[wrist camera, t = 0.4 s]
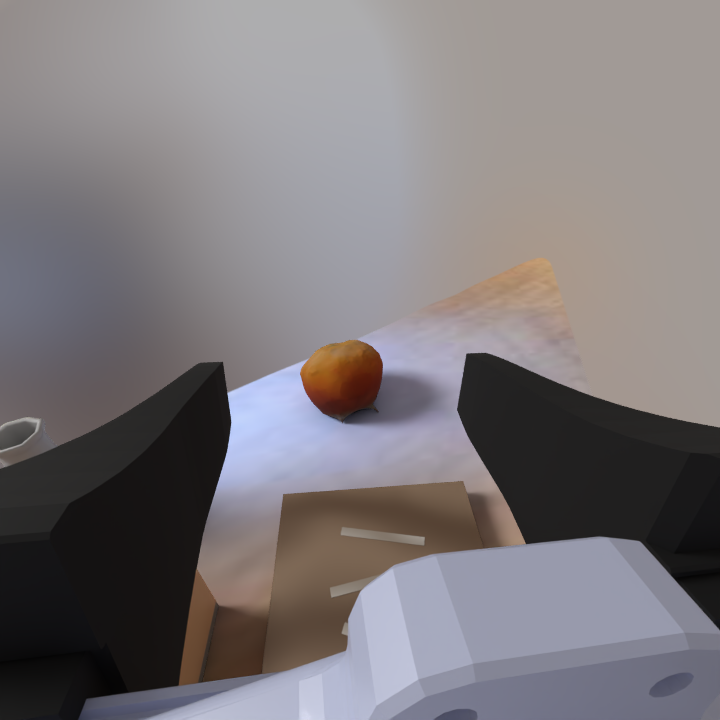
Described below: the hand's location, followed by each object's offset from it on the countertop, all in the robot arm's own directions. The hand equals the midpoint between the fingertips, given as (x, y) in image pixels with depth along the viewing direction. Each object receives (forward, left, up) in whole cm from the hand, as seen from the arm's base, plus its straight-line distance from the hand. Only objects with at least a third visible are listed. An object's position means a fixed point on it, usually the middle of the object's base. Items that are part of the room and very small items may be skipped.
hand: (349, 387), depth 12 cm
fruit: (+22, +1, -20) cm, 30 cm away
